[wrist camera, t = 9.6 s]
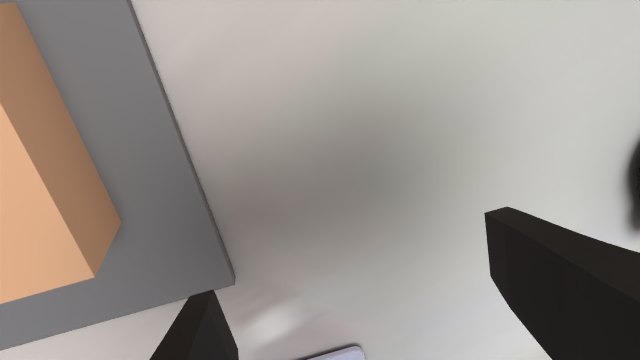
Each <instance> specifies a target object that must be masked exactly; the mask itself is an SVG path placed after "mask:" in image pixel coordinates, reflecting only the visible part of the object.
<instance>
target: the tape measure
mask: <svg viewBox="0 0 640 360" xmlns="http://www.w3.org/2000/svg"><path fill="white" fill-rule="evenodd" d="M637 190H638V191H639V194H638V195H639V198H640V167H639V169H638V172H637Z"/></svg>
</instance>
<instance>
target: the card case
mask: <svg viewBox="0 0 640 360" xmlns="http://www.w3.org/2000/svg"><path fill="white" fill-rule="evenodd" d="M121 223H122V222H121V219H120V217H119V215H118V213H117V211H116V209H115V207H114V205H113V203H112V201H111V199H110V197H109V195H108V193H107V191H106V188H105V186H104V184H103V182H102V180H101V178H100V176H99V174H98V172H97V170H96V168H95V166H94V164H93V162H92V159H91V157H90V155H89V153H88V151H87V149H86V147H85V145H84V143H83V141H82V139H81V137H80V135H79V133H78V131H77V128H76V126H75V124H74V122H73V120H72V118H71V116H70V114H69V112H68V110H67V108H66V106H65V104H64V102H63V99H62V97H61V95H60V93H59V91H58V89H57V87H56V85H55V83H54V81H53V79H52V77H51V75H50V73H49V70H48V68H47V66H46V64H45V62H44V60H43V58H42V56H41V54H40V52H39V50H38V48H37V46H36V44H35V42H34V39H33V37H32V35H31V33H30V31H29V29H28V27H27V25H26V23H25V21H24V19H23V17H22V15H21V13H20V10H19V8H18V6H17V4H16V2H10V3H2V4H0V304H2V303H6V302H9V301H13V300H16V299H20V298H23V297H27V296H30V295H34V294H38V293H41V292H45V291H48V290H52V289H55V288H59V287H62V286H66V285H69V284H73V283H76V282H80V281H83V280H87V279H91V278H94V277H95V276H96V274H97V272H98V270H99V268H100V266H101V264H102V262H103V260H104V258H105V256H106V253H107V251H108V249H109V247H110V245H111V243H112V241H113V239H114V237H115V235H116V233H117V231H118V229H119V227H120V225H121Z"/></svg>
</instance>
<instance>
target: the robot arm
mask: <svg viewBox="0 0 640 360" xmlns="http://www.w3.org/2000/svg"><path fill="white" fill-rule="evenodd" d="M485 223H486V233H487V244H488V254H489V265H490V275H491V278H492V279H493V281H494V283H495V284H496V286H497V288H498V289H499V291H500V293H501V294H502V296H503V298H504V299H505V301H506V302H507V304H508V305H509V307H510V308H511V310H512V311H513V312H514V314H515V315H516V316H517V317H518V319H519V320H520V321H521V322H522V323H523V325H524V326H525V327H526V328H527V330H528V331H529V332H530V333H531V335H532V336H533V337H534V338H535V339H536V341H537V342H538V343H539V344H540V345H541V347H542V348H543V349H544V350H545V352H546V353H547V354H548V355H549V356H550V358H551V359H552V360H640V253H638V252H635V251H631V250H628V249H625V248H621V247H618V246H615V245H612V244H609V243H606V242H602V241H599V240H597V239H594V238H591V237H588V236H585V235H582V234H579V233H577V232H574V231H571V230H569V229H566V228H563V227H561V226H558V225H555V224H553V223H550V222H548V221H545V220H542V219H540V218H537V217H535V216H532V215H530V214H527V213H524V212H522V211H519V210H516V209H513V208H510V207H504V208H500V209H497V210H493V211H490V212H486V213H485ZM149 360H239V357H238V348H237V345H236V343H235V341H234V338H233V336H232V333H231V331H230V328H229V326H228V323H227V321H226V319H225V316H224V314H223V311H222V309H221V306H220V304H219V301H218V299H217V297H216V294H215V292H214V289H213V290H209V291H206V292H202V293H198V294H195V295H191V296H190V297H189V298H188V300H187V301H186V303H185V305H184V306H183V308H182V309H181V311H180V313H179V314H178V316H177V317H176V319H175V321H174V322H173V324H172V325H171V327H170V329H169V330H168V332H167V334H166V335H165V337H164V338H163V340H162V341H161V343H160V344H159V346H158V347H157V349H156V351H155V352H154V354H153V355H152V357H151V358H150V359H149ZM308 360H365V357H364V353H363V350H362V349H361V348H360V347H357V346H354V347H349V348H346V349H342V350H339V351H335V352H332V353H328V354H325V355H322V356H318V357H315V358H311V359H308Z"/></svg>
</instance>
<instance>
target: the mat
mask: <svg viewBox="0 0 640 360" xmlns="http://www.w3.org/2000/svg"><path fill="white" fill-rule="evenodd" d="M10 2H16V4H17V6H18V8H19V10H20V13H21V15H22V17H23V19H24V21H25V23H26V25H27V27H28V29H29V31H30V33H31V35H32V37H33V39H34V42H35V44H36V46H37V48H38V50H39V52H40V54H41V56H42V58H43V60H44V62H45V64H46V66H47V68H48V70H49V73H50V75H51V77H52V79H53V81H54V83H55V85H56V87H57V89H58V91H59V93H60V95H61V97H62V99H63V102H64V104H65V106H66V108H67V110H68V112H69V114H70V116H71V118H72V120H73V122H74V124H75V126H76V128H77V131H78V133H79V135H80V137H81V139H82V141H83V143H84V145H85V147H86V149H87V151H88V153H89V155H90V157H91V159H92V162H93V164H94V166H95V168H96V170H97V172H98V174H99V176H100V178H101V180H102V182H103V184H104V186H105V188H106V191H107V193H108V195H109V197H110V199H111V201H112V203H113V205H114V207H115V209H116V211H117V213H118V215H119V217H120V219H121V222H122V223H121V225H120V227H119V229H118V231H117V233H116V235H115V237H114V239H113V241H112V243H111V245H110V247H109V249H108V251H107V253H106V256H105V258H104V260H103V262H102V264H101V266H100V268H99V270H98V272H97V274H96V276H95V277H94V278H91V279H87V280H83V281H80V282H76V283H73V284H69V285H66V286H62V287H59V288H55V289H52V290H48V291H45V292H41V293H38V294H34V295H30V296H27V297H23V298H20V299H16V300H13V301H9V302H6V303H2V304H0V351H1V350H4V349H8V348H11V347H15V346H19V345H22V344H26V343H29V342H33V341H36V340H40V339H43V338H47V337H50V336H54V335H58V334H61V333H65V332H68V331H72V330H75V329H79V328H82V327H86V326H90V325H93V324H97V323H100V322H104V321H107V320H111V319H114V318H118V317H121V316H125V315H129V314H132V313H136V312H139V311H143V310H146V309H150V308H153V307H157V306H160V305H164V304H168V303H171V302H175V301H178V300H182V299H185V298H189V297H190V296H191V295H195V294H198V293H202V292H206V291H209V290H213V289H214V290H217V289H221V288H224V287H228V286H231V285H235V275H234V273H233V270H232V267H231V265H230V262H229V259H228V257H227V254H226V252H225V249H224V246H223V244H222V241H221V238H220V236H219V233H218V230H217V228H216V225H215V223H214V220H213V217H212V215H211V212H210V209H209V207H208V204H207V201H206V199H205V196H204V194H203V191H202V188H201V186H200V183H199V180H198V178H197V175H196V172H195V170H194V167H193V165H192V162H191V159H190V157H189V154H188V151H187V149H186V146H185V143H184V141H183V138H182V136H181V133H180V130H179V128H178V125H177V122H176V120H175V117H174V115H173V112H172V109H171V107H170V104H169V101H168V99H167V96H166V93H165V91H164V88H163V86H162V83H161V80H160V78H159V75H158V72H157V70H156V67H155V64H154V62H153V59H152V57H151V54H150V51H149V49H148V46H147V43H146V41H145V38H144V35H143V33H142V30H141V28H140V25H139V22H138V20H137V17H136V14H135V12H134V9H133V6H132V4H131V1H130V0H0V4H2V3H10Z"/></svg>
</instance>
